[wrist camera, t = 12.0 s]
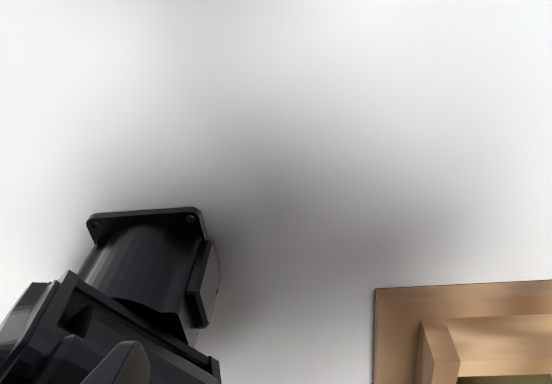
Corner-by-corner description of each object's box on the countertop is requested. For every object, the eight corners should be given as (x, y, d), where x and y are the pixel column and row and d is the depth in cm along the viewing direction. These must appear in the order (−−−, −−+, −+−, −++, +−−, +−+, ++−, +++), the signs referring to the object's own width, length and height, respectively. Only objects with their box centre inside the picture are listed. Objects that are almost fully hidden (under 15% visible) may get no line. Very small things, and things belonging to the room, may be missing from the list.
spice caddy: (372, 412, 33) (381, 470, 30) (375, 288, 26) (388, 346, 22) (582, 407, 32) (618, 467, 29) (649, 275, 25) (709, 333, 21)
